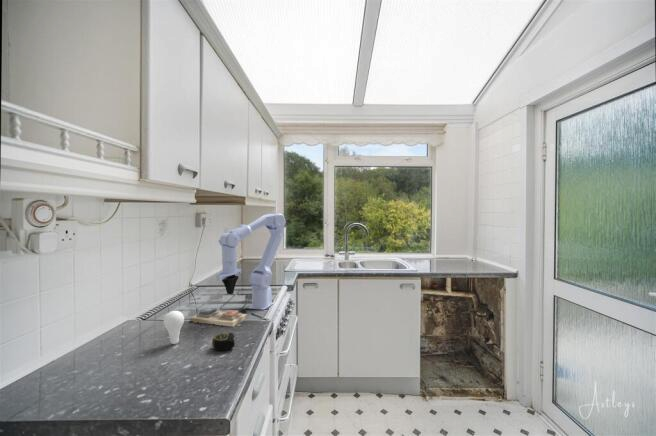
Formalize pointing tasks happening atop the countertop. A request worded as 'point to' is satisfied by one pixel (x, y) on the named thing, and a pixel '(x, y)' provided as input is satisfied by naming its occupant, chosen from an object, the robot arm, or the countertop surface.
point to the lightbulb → (174, 325)
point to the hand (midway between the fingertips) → (230, 293)
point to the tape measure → (223, 341)
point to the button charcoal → (207, 311)
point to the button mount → (219, 319)
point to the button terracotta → (230, 313)
